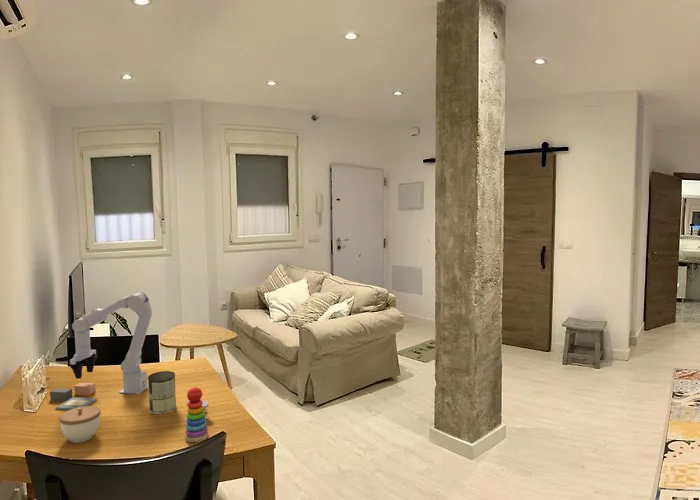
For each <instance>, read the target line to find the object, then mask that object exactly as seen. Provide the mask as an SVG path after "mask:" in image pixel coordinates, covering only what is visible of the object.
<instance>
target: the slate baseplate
mask: <svg viewBox="0 0 700 500" xmlns="http://www.w3.org/2000/svg"><path fill="white" fill-rule="evenodd" d="M97 400H98V398H93V397H92V398H91V397H73V396H72V398H70V399H69V400H67V401H63V402H62V403H60V404H59V405H57V406H56V407H55V410H65V411H68V410H71V409H74V408H78V407H83V406H91V405H92V404H93V403H95V402H97Z"/></svg>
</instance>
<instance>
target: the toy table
mask: <svg viewBox="0 0 700 500" xmlns="http://www.w3.org/2000/svg"><path fill="white" fill-rule="evenodd" d="M200 400H202V402H203V404H202V406H203V407H204V410H203V411H204V416H205V417H208V414H207V413H205V411H207V412H208V409H207V408H208V407H209V402H208V401H207V400H204V399H202V398H201V399H200ZM188 402H189V400H188V399H187V400H186V406H187V407H188Z"/></svg>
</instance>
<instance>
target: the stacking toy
mask: <svg viewBox="0 0 700 500" xmlns="http://www.w3.org/2000/svg"><path fill="white" fill-rule="evenodd" d="M202 397H203V391H202V389H201V388H199V387H196V386H195V387H194V386H193V387H191V388H190V389H188V391H187V394H186V398H187V401H188V400H189V402H188V406H187V407H188V408H187V410H186V411H187V412H186V420H185V422H186V424H185V435H184V440H185V441H186V442H188V441H189V442H188V443H191V442H196V443H201V442H203V441H205V440H206V439H207V438H208V437H209V431H208V430H209V428H208V425H207V421H206V420H207V419H206V418H205V416H204V411H203V410H204V407H203V406H202V404H203V402H202V400H203V399H202ZM200 399H202V400H200ZM202 440H203V441H202ZM200 441H201V442H200Z"/></svg>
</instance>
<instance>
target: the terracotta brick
mask: <svg viewBox="0 0 700 500" xmlns="http://www.w3.org/2000/svg"><path fill="white" fill-rule="evenodd" d="M73 387H74V394H75V395H77V396H78V395H79V396H80V395H81V396H82V395H83V396H91V395H93V394H94V393H96V383H95V382H79V383H77V384H75V385H74V386H73Z"/></svg>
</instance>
